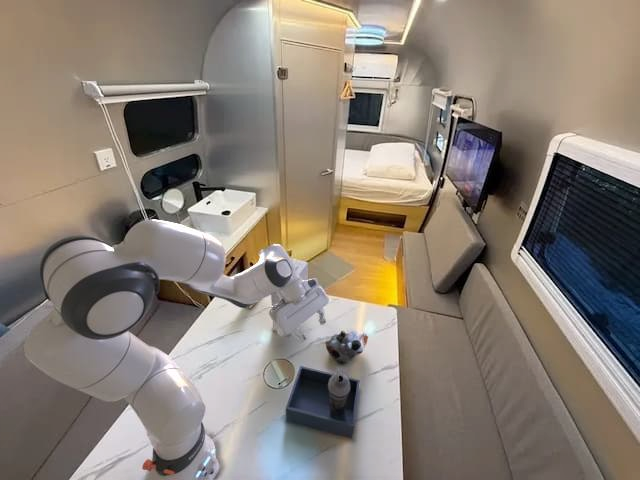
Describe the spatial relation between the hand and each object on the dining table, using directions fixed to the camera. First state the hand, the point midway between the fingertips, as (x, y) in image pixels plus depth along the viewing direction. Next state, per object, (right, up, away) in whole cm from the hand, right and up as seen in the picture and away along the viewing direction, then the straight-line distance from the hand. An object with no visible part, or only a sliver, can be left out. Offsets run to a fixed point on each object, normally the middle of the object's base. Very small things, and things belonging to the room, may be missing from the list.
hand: (314, 331), depth 85 cm
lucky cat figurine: (+13, -18, +29) cm, 36 cm away
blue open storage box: (+3, -28, +9) cm, 30 cm away
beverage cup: (+7, -28, +8) cm, 30 cm away
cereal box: (-12, -8, +45) cm, 47 cm away
